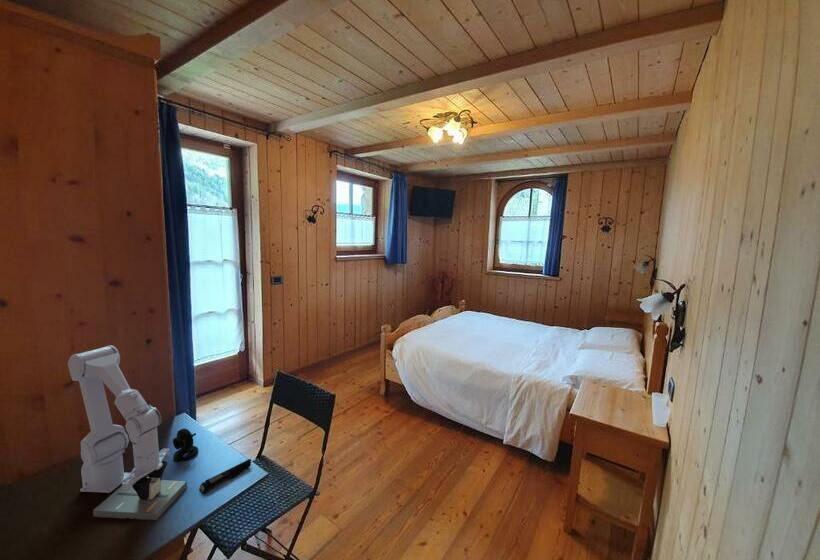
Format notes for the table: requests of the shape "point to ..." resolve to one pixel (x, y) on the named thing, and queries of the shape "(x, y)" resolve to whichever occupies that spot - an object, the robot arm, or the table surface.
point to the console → (140, 502)
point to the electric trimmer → (224, 476)
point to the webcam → (184, 445)
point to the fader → (154, 487)
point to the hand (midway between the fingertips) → (149, 492)
